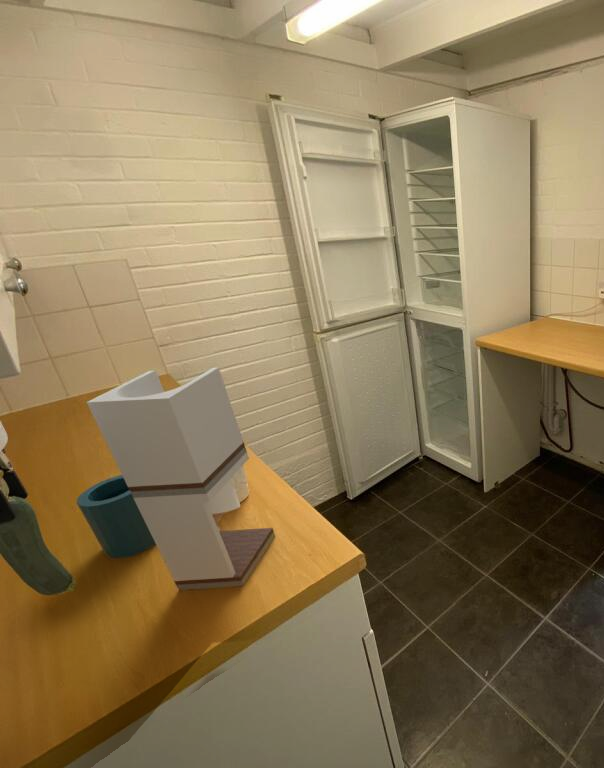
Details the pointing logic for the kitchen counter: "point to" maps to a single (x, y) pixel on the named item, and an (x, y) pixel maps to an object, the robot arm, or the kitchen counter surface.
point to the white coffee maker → (183, 474)
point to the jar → (115, 518)
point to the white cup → (240, 484)
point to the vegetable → (31, 550)
